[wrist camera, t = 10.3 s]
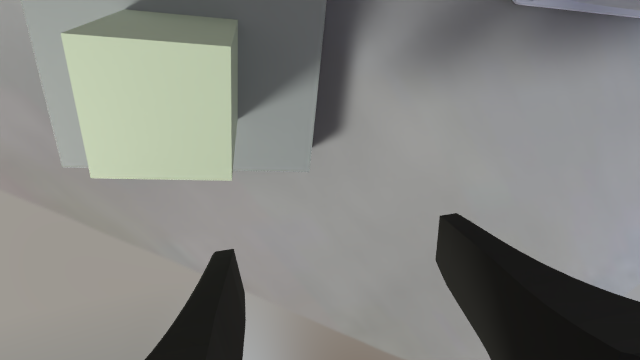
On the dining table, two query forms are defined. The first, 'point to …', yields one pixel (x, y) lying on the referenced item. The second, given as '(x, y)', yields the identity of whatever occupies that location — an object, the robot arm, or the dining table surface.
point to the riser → (253, 72)
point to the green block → (156, 94)
